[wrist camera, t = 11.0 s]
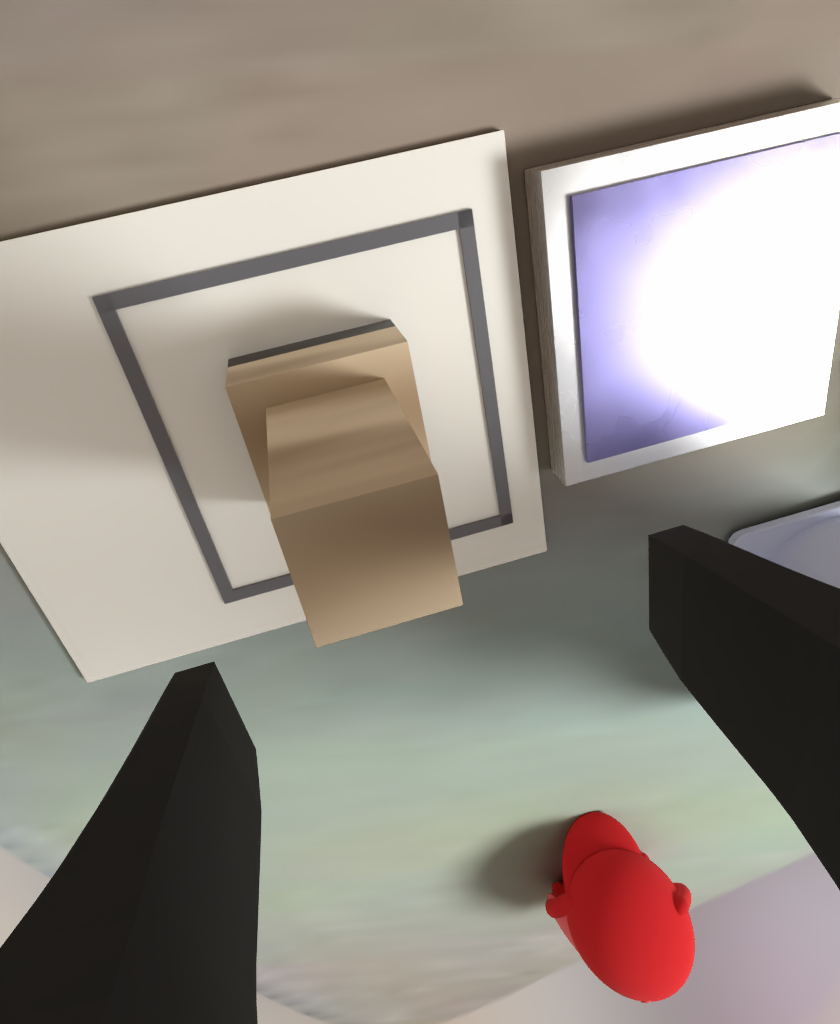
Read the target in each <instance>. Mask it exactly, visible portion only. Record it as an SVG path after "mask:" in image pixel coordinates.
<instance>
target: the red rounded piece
mask: <svg viewBox="0 0 840 1024" xmlns="http://www.w3.org/2000/svg"><path fill="white" fill-rule="evenodd" d="M562 872H563V882H562V883H560V882H558V881H556V882H554V883H553V884H552V891H553V892H552V893H551V894H550V893H548V895H547V901H546V905H545V906H546V911H547V913H548V914H549V915H550V916H551V917H553V918H555V919H556V921H557V923H558V924H559V926H560V928H561V929H562V931H563V932H564V934H565V935H566V937H567V938H568V939H569V941H570V942H571V943H572V945H573V946H574V947H575V949H576V950H577V951H578V952H579V954H580V955H581V957H582V959H583V960H584V962H585V963H586V964H587V966H588V967H589V968H590V970H591V971H592V972H593V973H594V974H595V975H596V976H597V977H598V978H599V979H600V980H601V981H602V982H603V983H604V984H606V985H607V986H608V987H610V988H611V989H612V990H614V991H615V992H617V993H619V994H621V995H623V996H625V997H628V998H630V999H634V1000H638V1001H641V1002H643V1003H648V1002H653V1001H659V1000H663V999H666V998H668V997H670V996H672V995H673V994H675V993H676V992H677V991H678V990H679V989H680V988H681V987H682V986H683V985H684V983H685V982H686V980H687V978H688V976H689V974H690V972H691V969H692V966H693V961H694V952H695V942H694V941H695V939H694V932H693V926H692V922H691V919H690V915H689V912H688V911H689V907H690V904H691V893H690V891H689V889H688V888H687V887H686V886H685V885H683V884H682V883H672V881H671V880H670V879H669V877H668V876H667V875H666V874H665V873H664V872H663V871H662V870H661V869H660V868H659V867H658V866H657V865H656V864H654V863H653V862H652V861H650V860H649V857H648V856H647V855H646V854H645V853H643V852H640V850H639V848H638V846H637V844H636V842H635V841H634V839H633V838H632V836H631V835H630V833H629V832H628V831H627V830H626V828H625V827H624V826H623V825H622V824H621V823H620V822H618V821H617V820H616V819H614V818H613V817H611V816H609V815H607V814H605V813H601V812H590V813H587V814H584V815H582V816H580V817H579V818H578V819H577V820H576V821H575V822H574V823H573V825H572V826H571V828H570V830H569V832H568V834H567V837H566V840H565V843H564V848H563V857H562Z"/></svg>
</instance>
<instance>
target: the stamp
mask: <svg viewBox="0 0 840 1024" xmlns="http://www.w3.org/2000/svg"><path fill="white" fill-rule="evenodd" d="M225 388H226V391H227V394H228V397H229V399H230V402H231V405H232V408H233V411H234V413H235V416H236V419H237V422H238V425H239V427H240V430H241V433H242V436H243V439H244V442H245V444H246V447H247V450H248V453H249V456H250V458H251V461H252V464H253V467H254V470H255V472H256V475H257V478H258V481H259V484H260V487H261V489H262V492H263V495H264V498H265V501H266V503H267V506H268V509H269V512H270V515H271V522H272V525H273V527H274V530H275V533H276V536H277V539H278V541H279V544H280V547H281V550H282V553H283V555H284V558H285V561H286V564H287V567H288V569H289V572H290V575H291V578H292V581H293V583H294V586H295V589H296V592H297V595H298V597H299V600H300V603H301V606H302V609H303V611H304V614H305V617H306V620H307V623H308V625H309V628H310V631H311V634H312V637H313V639H314V642H315V645H316V648H318V647H321V646H325V645H328V644H331V643H335V642H338V641H342V640H345V639H349V638H352V637H355V636H359V635H362V634H366V633H369V632H373V631H376V630H379V629H383V628H386V627H390V626H393V625H396V624H400V623H403V622H407V621H410V620H414V619H417V618H420V617H424V616H427V615H431V614H434V613H438V612H441V611H444V610H448V609H451V608H455V607H458V606H462V605H463V601H462V596H461V590H460V585H459V580H458V575H457V570H456V565H455V559H454V554H453V549H452V544H451V539H450V533H449V528H448V523H447V518H446V513H445V507H444V502H443V497H442V492H441V487H440V482H439V476H438V473H437V471H436V470H435V468H434V466H433V464H432V462H431V458H430V452H429V447H428V442H427V437H426V432H425V427H424V422H423V417H422V412H421V407H420V402H419V397H418V391H417V386H416V381H415V376H414V371H413V366H412V361H411V356H410V351H409V346H408V341H407V340H406V339H405V337H404V336H403V335H402V334H401V332H400V331H399V330H398V328H397V327H396V326H395V325H394V323H393V322H392V321H391V319H389V320H385V321H381V322H377V323H373V324H369V325H365V326H360V327H356V328H352V329H348V330H344V331H340V332H336V333H332V334H328V335H324V336H320V337H316V338H312V339H308V340H304V341H300V342H296V343H291V344H287V345H283V346H279V347H275V348H271V349H267V350H263V351H259V352H255V353H251V354H247V355H243V356H239V357H235V358H231V359H228V367H227V376H226V384H225Z"/></svg>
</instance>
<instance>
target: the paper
mask: <svg viewBox="0 0 840 1024" xmlns="http://www.w3.org/2000/svg"><path fill="white" fill-rule="evenodd" d="M389 319H391V321H392V322H393V323H394V325H395V326H396V327H397V328H398V330H399V331H400V332H401V334H402V335H403V336H404V337H405V339H406V340H407V341H408V346H409V351H410V356H411V361H412V366H413V371H414V376H415V381H416V386H417V391H418V397H419V402H420V407H421V412H422V417H423V422H424V427H425V432H426V437H427V442H428V447H429V452H430V458H431V462H432V464H433V466H434V468H435V470H436V471H437V473H438V476H439V482H440V487H441V492H442V497H443V502H444V507H445V513H446V518H447V523H448V528H449V533H450V539H451V544H452V549H453V554H454V559H455V565H456V570H457V575H458V576H462V575H465V574H469V573H472V572H476V571H479V570H483V569H486V568H490V567H493V566H497V565H500V564H504V563H507V562H511V561H514V560H518V559H521V558H525V557H528V556H532V555H535V554H538V553H542V552H545V551H547V546H546V536H545V526H544V517H543V507H542V497H541V487H540V478H539V468H538V458H537V448H536V439H535V429H534V419H533V409H532V400H531V390H530V380H529V370H528V361H527V351H526V341H525V331H524V322H523V312H522V302H521V292H520V283H519V273H518V263H517V253H516V244H515V234H514V224H513V214H512V205H511V195H510V185H509V175H508V166H507V156H506V146H505V136H504V130H500V131H495V132H491V133H486V134H482V135H477V136H473V137H468V138H464V139H459V140H455V141H450V142H446V143H441V144H437V145H432V146H428V147H423V148H419V149H414V150H410V151H405V152H401V153H396V154H392V155H387V156H383V157H378V158H374V159H369V160H365V161H360V162H356V163H351V164H347V165H342V166H338V167H333V168H329V169H324V170H320V171H315V172H311V173H306V174H302V175H297V176H293V177H288V178H284V179H279V180H275V181H270V182H266V183H261V184H257V185H252V186H248V187H243V188H239V189H234V190H230V191H225V192H221V193H216V194H212V195H207V196H203V197H198V198H194V199H189V200H185V201H180V202H176V203H171V204H167V205H162V206H158V207H153V208H149V209H144V210H140V211H135V212H131V213H126V214H122V215H117V216H113V217H108V218H104V219H99V220H95V221H90V222H86V223H81V224H77V225H72V226H68V227H63V228H59V229H54V230H50V231H45V232H41V233H36V234H32V235H27V236H23V237H18V238H14V239H9V240H5V241H0V543H1V545H2V546H3V548H4V549H5V551H6V553H7V554H8V556H9V558H10V559H11V561H12V562H13V564H14V566H15V567H16V569H17V570H18V572H19V574H20V575H21V577H22V578H23V580H24V582H25V583H26V585H27V586H28V588H29V590H30V591H31V593H32V594H33V596H34V598H35V599H36V601H37V602H38V604H39V606H40V607H41V609H42V611H43V612H44V614H45V615H46V617H47V619H48V620H49V622H50V623H51V625H52V627H53V628H54V630H55V631H56V633H57V635H58V636H59V638H60V639H61V641H62V643H63V644H64V646H65V647H66V649H67V651H68V652H69V654H70V656H71V657H72V659H73V660H74V662H75V664H76V665H77V667H78V668H79V670H80V672H81V673H82V675H83V676H84V678H85V680H86V681H87V683H90V682H93V681H96V680H100V679H103V678H107V677H110V676H114V675H117V674H121V673H124V672H128V671H131V670H135V669H138V668H142V667H145V666H149V665H152V664H156V663H159V662H163V661H166V660H170V659H173V658H177V657H180V656H183V655H187V654H190V653H194V652H197V651H201V650H204V649H208V648H211V647H215V646H218V645H222V644H225V643H229V642H232V641H236V640H239V639H243V638H246V637H250V636H253V635H257V634H260V633H264V632H267V631H270V630H274V629H277V628H281V627H284V626H288V625H291V624H295V623H298V622H302V621H305V620H306V617H305V614H304V611H303V609H302V606H301V603H300V600H299V597H298V595H297V592H296V589H295V586H294V583H293V581H292V578H291V575H290V572H289V569H288V567H287V564H286V561H285V558H284V555H283V553H282V550H281V547H280V544H279V541H278V539H277V536H276V533H275V530H274V527H273V525H272V522H271V515H270V512H269V509H268V506H267V503H266V501H265V498H264V495H263V492H262V489H261V487H260V484H259V481H258V478H257V475H256V472H255V470H254V467H253V464H252V461H251V458H250V456H249V453H248V450H247V447H246V444H245V442H244V439H243V436H242V433H241V430H240V427H239V425H238V422H237V419H236V416H235V413H234V411H233V408H232V405H231V402H230V399H229V397H228V394H227V391H226V388H225V384H226V376H227V367H228V359H231V358H235V357H239V356H243V355H247V354H251V353H255V352H259V351H263V350H267V349H271V348H275V347H279V346H283V345H287V344H291V343H296V342H300V341H304V340H308V339H312V338H316V337H320V336H324V335H328V334H332V333H336V332H340V331H344V330H348V329H352V328H356V327H360V326H365V325H369V324H373V323H377V322H381V321H385V320H389Z"/></svg>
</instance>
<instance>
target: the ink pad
mask: <svg viewBox="0 0 840 1024" xmlns="http://www.w3.org/2000/svg"><path fill="white" fill-rule="evenodd" d="M524 175H525V186H526V197H527V208H528V219H529V230H530V241H531V252H532V263H533V274H534V285H535V296H536V307H537V318H538V329H539V340H540V350H541V361H542V372H543V383H544V394H545V405H546V416H547V427H548V438H549V449H550V460H551V470H552V472H553V473H554V474H555V475H556V476H557V477H558V478H559V479H560V480H561V481H562V483H563V484H564V485H565V486H569V485H573V484H577V483H580V482H584V481H587V480H591V479H595V478H598V477H602V476H605V475H609V474H613V473H616V472H620V471H623V470H627V469H631V468H634V467H638V466H641V465H645V464H648V463H652V462H656V461H659V460H663V459H666V458H670V457H674V456H677V455H681V454H684V453H688V452H692V451H695V450H699V449H702V448H706V447H710V446H713V445H717V444H720V443H724V442H728V441H731V440H735V439H738V438H742V437H745V436H749V435H753V434H756V433H760V432H763V431H767V430H771V429H774V428H778V427H781V426H785V425H789V424H792V423H796V422H799V421H803V420H807V419H810V418H814V417H817V416H821V415H824V409H825V402H826V396H827V389H828V382H829V375H830V368H831V361H832V354H833V347H834V340H835V333H836V326H837V319H838V312H839V305H840V98H835V99H831V100H826V101H822V102H817V103H813V104H809V105H804V106H800V107H796V108H791V109H787V110H782V111H778V112H774V113H769V114H765V115H761V116H756V117H752V118H748V119H743V120H739V121H734V122H730V123H726V124H721V125H717V126H713V127H708V128H704V129H700V130H695V131H691V132H686V133H682V134H678V135H673V136H669V137H665V138H660V139H656V140H651V141H647V142H643V143H638V144H634V145H630V146H625V147H621V148H617V149H612V150H608V151H603V152H599V153H595V154H590V155H586V156H582V157H577V158H573V159H568V160H564V161H560V162H555V163H551V164H547V165H542V166H538V167H534V168H529V169H525V170H524Z"/></svg>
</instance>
